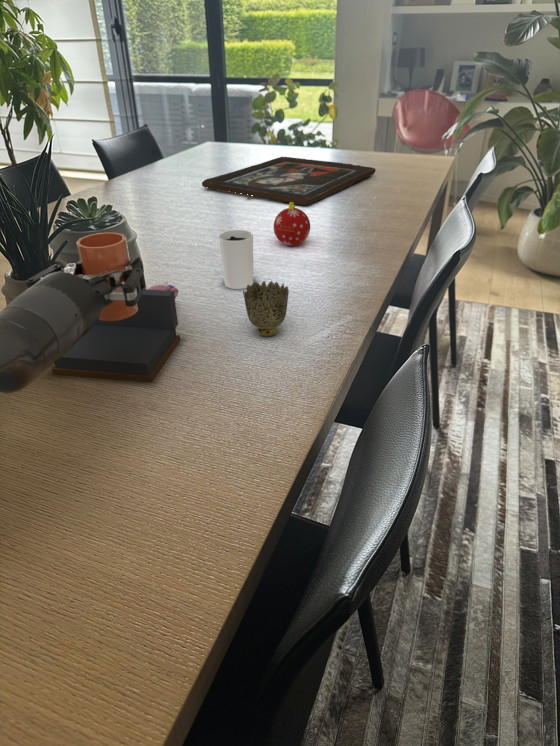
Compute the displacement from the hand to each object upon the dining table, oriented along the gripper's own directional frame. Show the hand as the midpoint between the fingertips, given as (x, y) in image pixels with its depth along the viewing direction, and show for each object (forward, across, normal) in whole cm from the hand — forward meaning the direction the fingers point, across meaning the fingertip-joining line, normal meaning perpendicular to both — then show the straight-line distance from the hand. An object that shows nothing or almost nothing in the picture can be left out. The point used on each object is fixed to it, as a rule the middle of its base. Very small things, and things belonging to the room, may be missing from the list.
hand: (115, 262), depth 74 cm
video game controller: (+20, +5, +18) cm, 27 cm away
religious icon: (+118, -4, +18) cm, 119 cm away
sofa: (+5, +5, +18) cm, 19 cm away
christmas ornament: (+60, -14, +18) cm, 64 cm away
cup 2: (+16, -17, +18) cm, 29 cm away
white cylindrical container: (+36, -7, +18) cm, 41 cm away
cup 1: (-2, 0, +6) cm, 6 cm away
